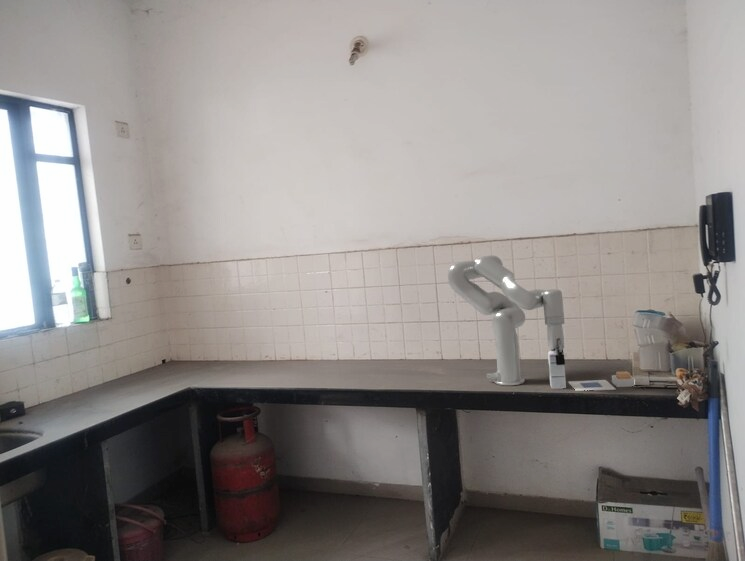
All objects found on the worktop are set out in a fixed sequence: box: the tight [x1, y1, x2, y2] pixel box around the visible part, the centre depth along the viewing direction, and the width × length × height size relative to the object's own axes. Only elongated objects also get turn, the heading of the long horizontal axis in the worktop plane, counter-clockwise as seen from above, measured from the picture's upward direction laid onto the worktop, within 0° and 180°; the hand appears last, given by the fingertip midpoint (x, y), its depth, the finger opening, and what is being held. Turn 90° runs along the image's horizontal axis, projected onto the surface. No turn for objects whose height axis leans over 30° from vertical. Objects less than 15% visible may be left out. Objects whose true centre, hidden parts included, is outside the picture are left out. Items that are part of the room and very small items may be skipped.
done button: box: [615, 370, 632, 379], centre depth 222 cm, size 4×4×2 cm
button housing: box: [611, 374, 635, 388], centre depth 223 cm, size 7×7×3 cm
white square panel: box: [567, 379, 617, 392], centre depth 224 cm, size 15×14×1 cm
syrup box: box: [547, 350, 567, 390], centre depth 226 cm, size 6×6×14 cm
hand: (558, 362), depth 225 cm, fingers open, 9 cm apart
